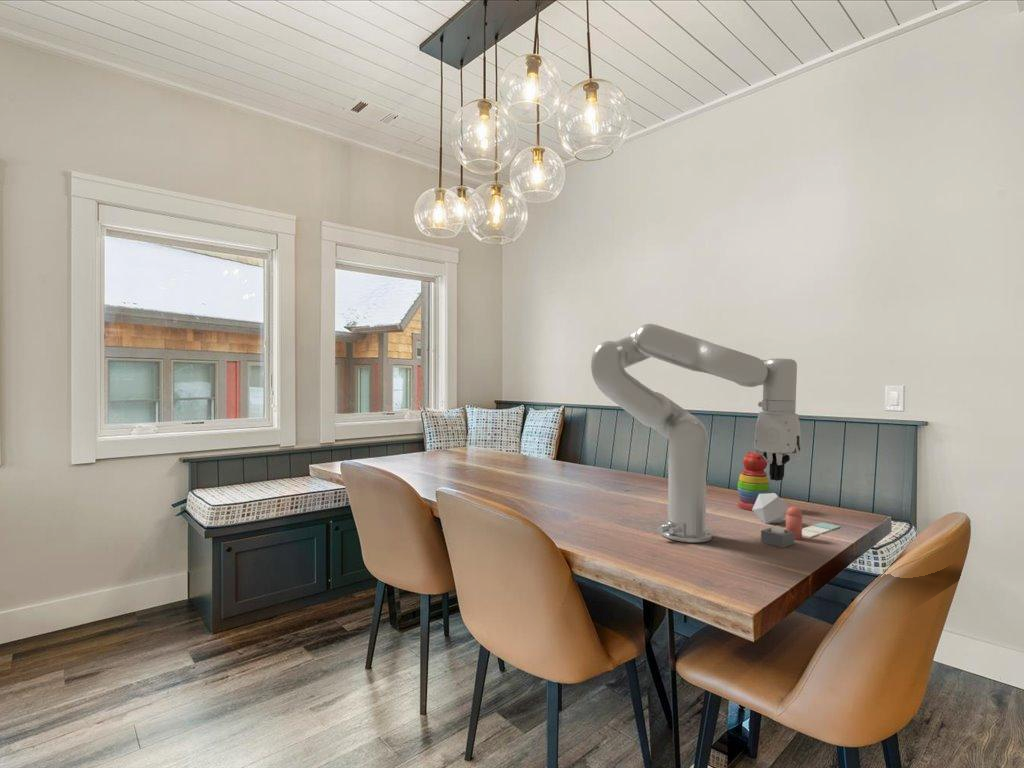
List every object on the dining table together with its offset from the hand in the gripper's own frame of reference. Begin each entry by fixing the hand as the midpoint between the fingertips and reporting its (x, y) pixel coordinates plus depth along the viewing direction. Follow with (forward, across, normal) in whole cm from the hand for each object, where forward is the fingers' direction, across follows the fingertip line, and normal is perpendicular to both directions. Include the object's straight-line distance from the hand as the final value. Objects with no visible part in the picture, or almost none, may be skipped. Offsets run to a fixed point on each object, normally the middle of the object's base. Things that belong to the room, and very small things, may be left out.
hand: (776, 479), depth 138 cm
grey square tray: (+16, +1, 0) cm, 16 cm away
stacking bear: (+16, -23, +30) cm, 42 cm away
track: (+16, 0, +17) cm, 24 cm away
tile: (+16, 0, +26) cm, 31 cm away
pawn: (+16, 0, +8) cm, 18 cm away
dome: (+16, +1, 0) cm, 16 cm away
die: (+16, -12, +18) cm, 27 cm away
